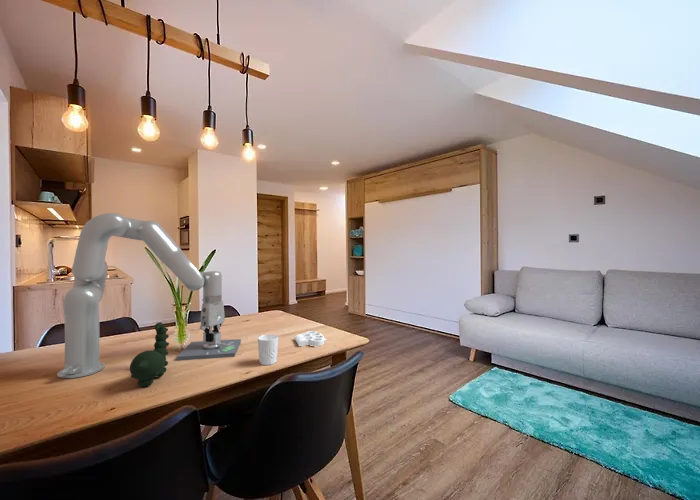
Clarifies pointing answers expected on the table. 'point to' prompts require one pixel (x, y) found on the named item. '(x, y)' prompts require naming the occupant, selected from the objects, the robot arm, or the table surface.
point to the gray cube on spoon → (213, 341)
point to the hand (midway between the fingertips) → (212, 339)
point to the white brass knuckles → (310, 338)
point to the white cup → (267, 349)
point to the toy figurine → (151, 359)
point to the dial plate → (198, 352)
